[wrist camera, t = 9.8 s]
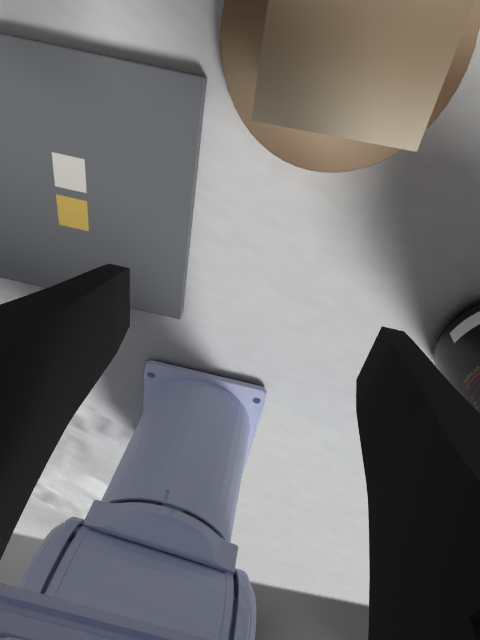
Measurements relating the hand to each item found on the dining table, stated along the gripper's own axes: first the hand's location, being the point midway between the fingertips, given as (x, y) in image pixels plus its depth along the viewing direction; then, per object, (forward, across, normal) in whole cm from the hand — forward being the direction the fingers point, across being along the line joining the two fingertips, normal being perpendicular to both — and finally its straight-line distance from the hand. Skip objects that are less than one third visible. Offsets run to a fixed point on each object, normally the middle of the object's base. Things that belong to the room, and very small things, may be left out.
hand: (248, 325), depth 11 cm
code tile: (+9, +10, +1) cm, 14 cm away
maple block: (+9, -1, -7) cm, 11 cm away
